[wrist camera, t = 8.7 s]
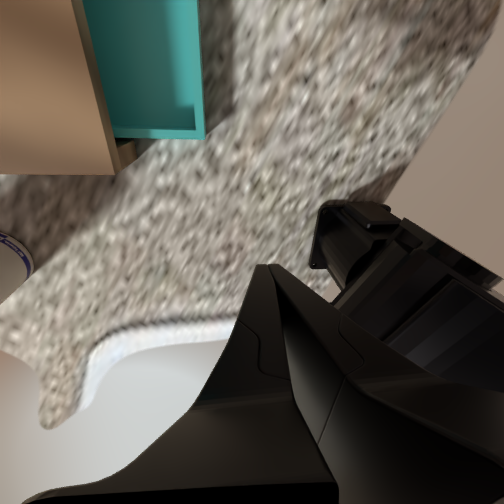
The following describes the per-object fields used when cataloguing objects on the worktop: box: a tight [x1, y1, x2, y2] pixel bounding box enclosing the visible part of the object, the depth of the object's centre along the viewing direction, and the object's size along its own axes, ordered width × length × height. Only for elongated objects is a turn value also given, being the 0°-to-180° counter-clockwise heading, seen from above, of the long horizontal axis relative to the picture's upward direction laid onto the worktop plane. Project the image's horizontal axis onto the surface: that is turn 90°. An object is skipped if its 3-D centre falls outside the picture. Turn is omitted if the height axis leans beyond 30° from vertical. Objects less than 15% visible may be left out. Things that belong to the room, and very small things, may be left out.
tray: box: [82, 0, 206, 140], centre depth 13 cm, size 9×12×2 cm
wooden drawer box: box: [0, 0, 137, 175], centre depth 12 cm, size 12×9×5 cm
